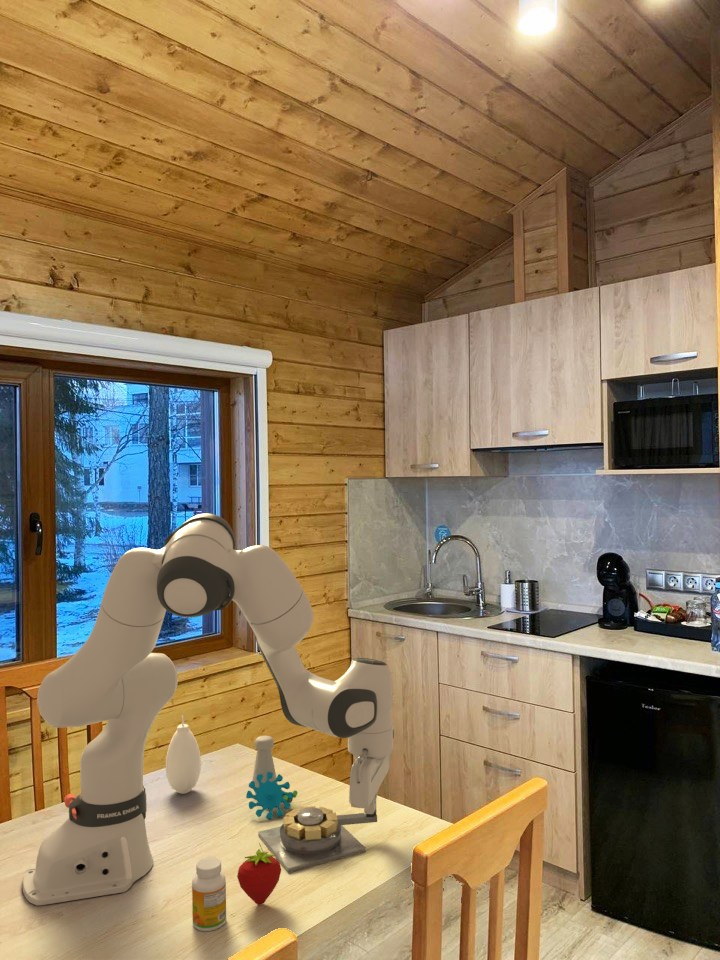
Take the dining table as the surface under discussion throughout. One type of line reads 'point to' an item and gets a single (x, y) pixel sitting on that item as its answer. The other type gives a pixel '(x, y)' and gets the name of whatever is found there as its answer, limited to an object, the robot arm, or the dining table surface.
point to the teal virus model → (270, 795)
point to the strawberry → (259, 876)
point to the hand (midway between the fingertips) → (370, 812)
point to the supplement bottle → (209, 895)
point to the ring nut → (328, 823)
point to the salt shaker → (264, 759)
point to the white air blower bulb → (183, 760)
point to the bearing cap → (310, 843)
